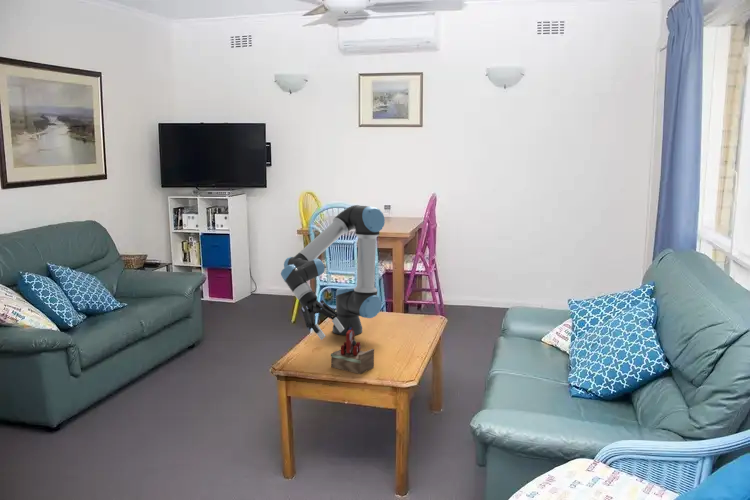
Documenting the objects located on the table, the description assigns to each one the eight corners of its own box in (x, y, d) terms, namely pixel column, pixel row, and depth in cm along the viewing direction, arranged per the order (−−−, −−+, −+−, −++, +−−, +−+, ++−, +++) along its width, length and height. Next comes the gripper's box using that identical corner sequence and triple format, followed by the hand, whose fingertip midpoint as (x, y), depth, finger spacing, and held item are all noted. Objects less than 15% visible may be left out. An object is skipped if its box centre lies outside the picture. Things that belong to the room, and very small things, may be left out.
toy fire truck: (361, 349, 268) (361, 325, 266) (355, 358, 256) (356, 333, 254) (345, 348, 269) (346, 324, 268) (339, 357, 257) (339, 332, 256)
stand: (330, 367, 263) (330, 348, 261) (345, 360, 271) (345, 343, 270) (359, 374, 254) (360, 355, 253) (374, 367, 263) (374, 349, 262)
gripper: (318, 295, 285) (344, 332, 279) (282, 306, 264) (310, 346, 258) (327, 285, 281) (354, 323, 275) (291, 295, 260) (320, 336, 255)
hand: (333, 334), depth 267 cm, fingers open, 13 cm apart
